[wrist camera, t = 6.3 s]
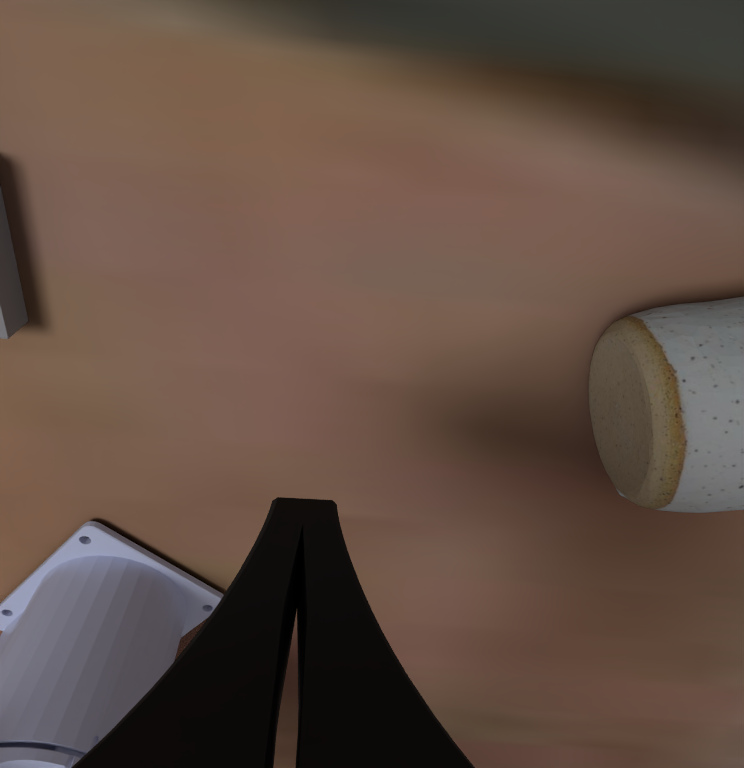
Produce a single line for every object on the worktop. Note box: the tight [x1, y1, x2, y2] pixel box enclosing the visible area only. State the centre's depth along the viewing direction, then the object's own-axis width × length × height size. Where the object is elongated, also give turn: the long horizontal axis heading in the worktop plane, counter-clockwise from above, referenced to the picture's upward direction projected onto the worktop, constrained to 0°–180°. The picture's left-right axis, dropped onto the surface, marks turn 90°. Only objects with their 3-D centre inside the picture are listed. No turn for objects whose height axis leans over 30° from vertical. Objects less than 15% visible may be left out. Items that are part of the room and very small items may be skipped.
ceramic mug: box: [589, 297, 744, 513], centre depth 20 cm, size 11×8×8 cm
